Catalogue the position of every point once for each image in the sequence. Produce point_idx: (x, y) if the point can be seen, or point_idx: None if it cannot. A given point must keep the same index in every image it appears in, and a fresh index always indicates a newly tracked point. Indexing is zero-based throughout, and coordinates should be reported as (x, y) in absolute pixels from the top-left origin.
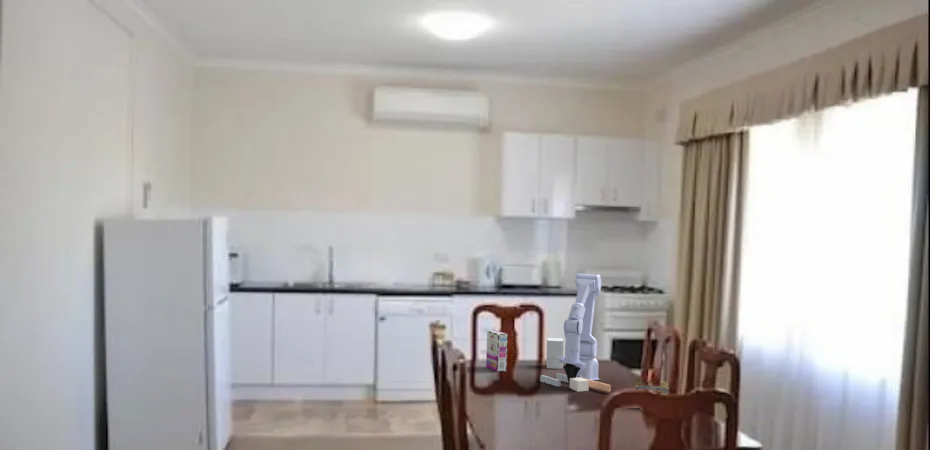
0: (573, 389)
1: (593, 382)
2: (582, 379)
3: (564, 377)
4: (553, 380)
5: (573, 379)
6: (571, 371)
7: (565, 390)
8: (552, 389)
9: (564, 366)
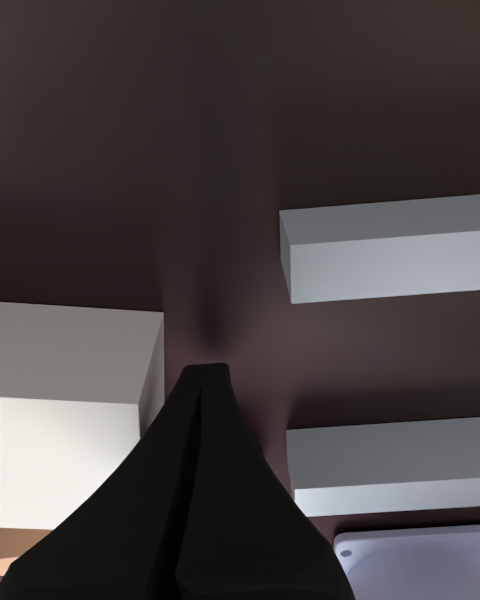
0: (65, 308)
1: (16, 544)
2: (6, 496)
3: (468, 459)
4: (403, 227)
5: (20, 400)
6: (66, 527)
7: (57, 192)
8: (167, 17)
9: (254, 581)
